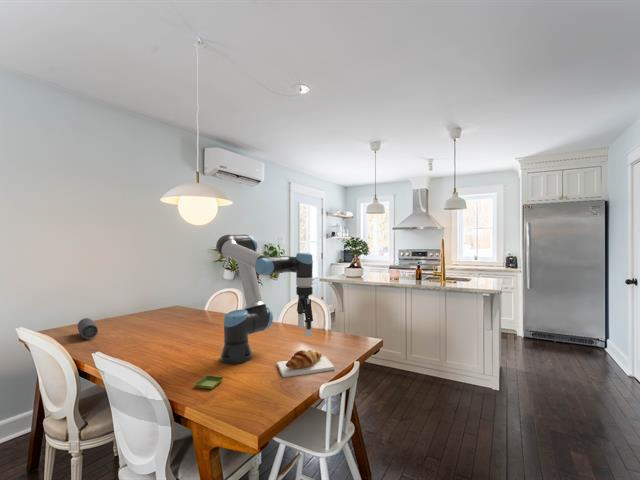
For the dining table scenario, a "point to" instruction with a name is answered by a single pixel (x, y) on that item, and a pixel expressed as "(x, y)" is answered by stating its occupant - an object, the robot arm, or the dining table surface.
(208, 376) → the saucer
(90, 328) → the bluetooth speaker
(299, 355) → the croissant
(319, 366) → the platter
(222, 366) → the dining table surface
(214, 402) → the dining table surface
